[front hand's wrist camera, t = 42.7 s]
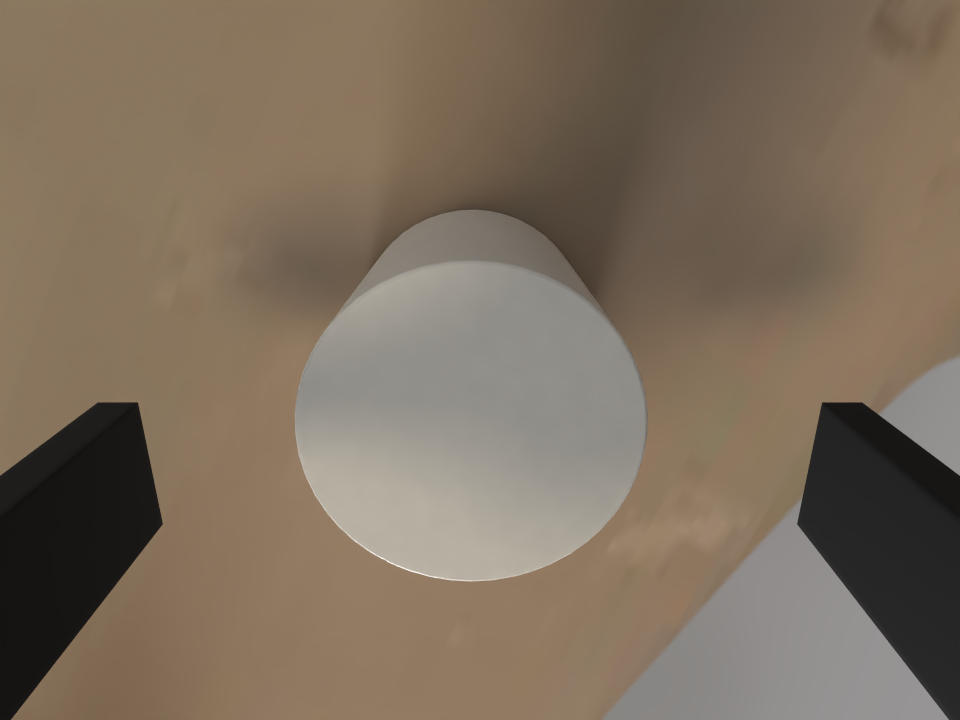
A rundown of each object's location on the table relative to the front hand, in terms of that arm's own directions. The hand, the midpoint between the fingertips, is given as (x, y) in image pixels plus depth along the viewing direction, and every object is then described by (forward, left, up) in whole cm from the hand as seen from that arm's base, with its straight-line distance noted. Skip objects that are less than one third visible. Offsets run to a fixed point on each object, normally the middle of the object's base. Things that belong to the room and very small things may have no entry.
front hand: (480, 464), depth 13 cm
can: (0, 0, -11) cm, 11 cm away
